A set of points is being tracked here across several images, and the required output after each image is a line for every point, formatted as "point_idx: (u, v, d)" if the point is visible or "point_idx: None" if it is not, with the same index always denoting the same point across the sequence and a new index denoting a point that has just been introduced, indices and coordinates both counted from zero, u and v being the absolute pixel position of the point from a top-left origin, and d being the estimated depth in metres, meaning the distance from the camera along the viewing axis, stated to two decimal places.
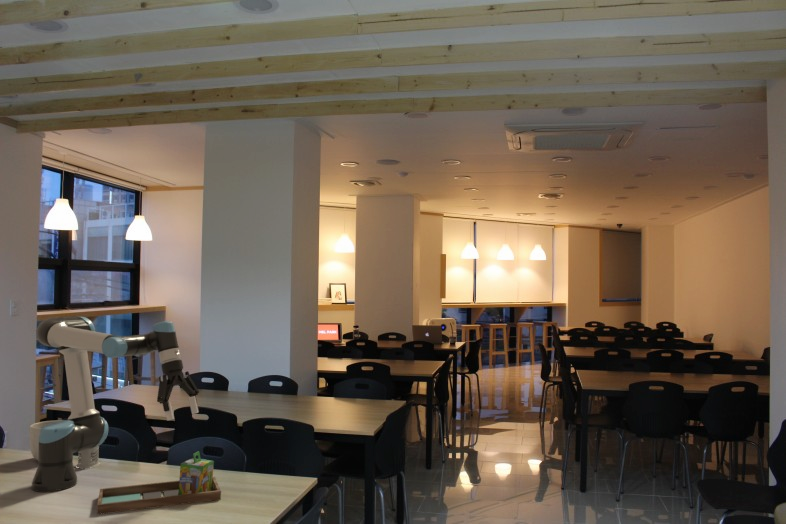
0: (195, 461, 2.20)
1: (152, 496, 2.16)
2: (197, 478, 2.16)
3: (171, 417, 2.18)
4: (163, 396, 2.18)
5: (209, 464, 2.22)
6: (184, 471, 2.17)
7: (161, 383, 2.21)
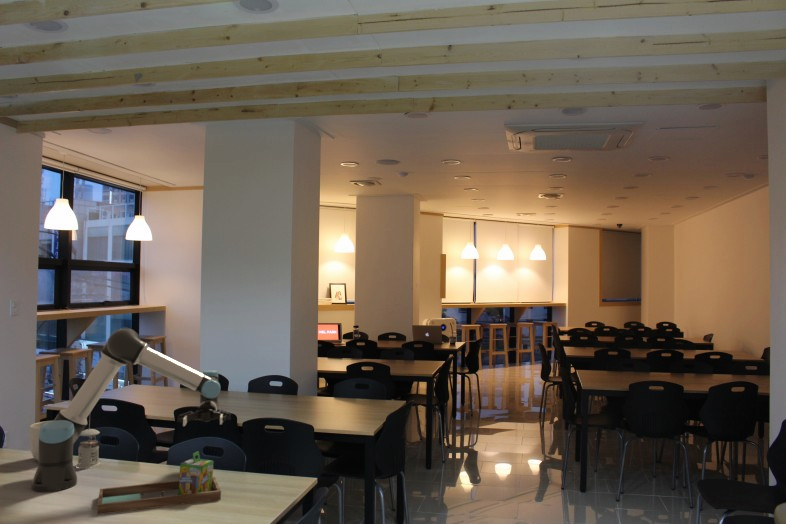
0: (195, 461, 2.20)
1: (152, 496, 2.16)
2: (197, 478, 2.16)
3: (221, 422, 2.34)
4: None
5: (209, 464, 2.22)
6: (184, 471, 2.18)
7: None
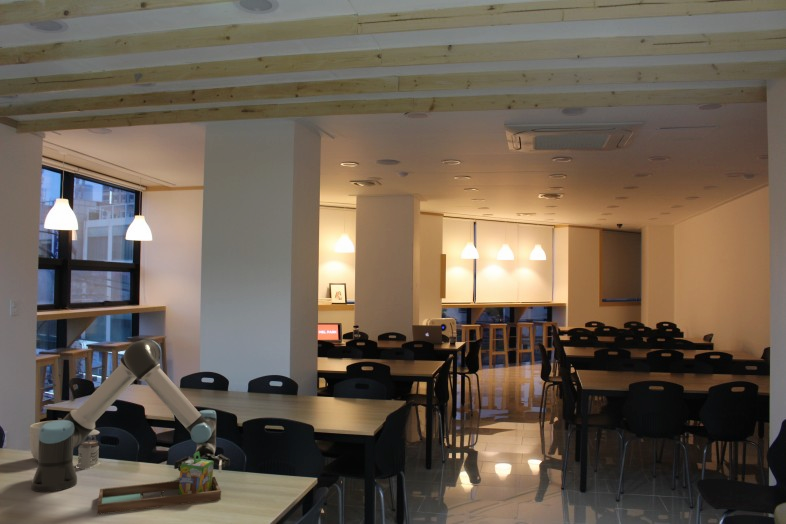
0: (195, 461, 2.20)
1: (152, 496, 2.16)
2: (198, 479, 2.16)
3: None
4: None
5: (210, 465, 2.21)
6: (185, 471, 2.17)
7: None
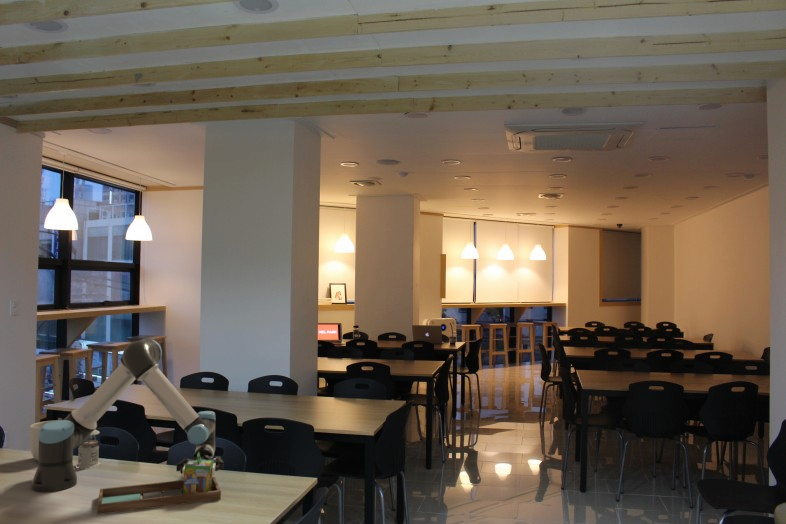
0: (199, 462, 2.19)
1: (152, 496, 2.16)
2: (204, 479, 2.16)
3: (214, 473, 2.19)
4: None
5: (212, 464, 2.22)
6: (190, 473, 2.16)
7: None
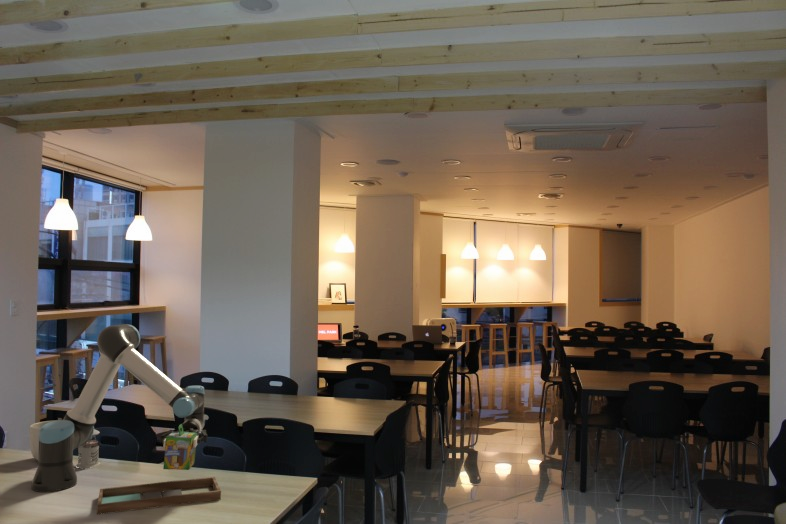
0: (180, 433, 2.16)
1: (152, 496, 2.16)
2: (185, 450, 2.13)
3: (195, 445, 2.16)
4: None
5: (194, 436, 2.19)
6: (170, 444, 2.13)
7: None
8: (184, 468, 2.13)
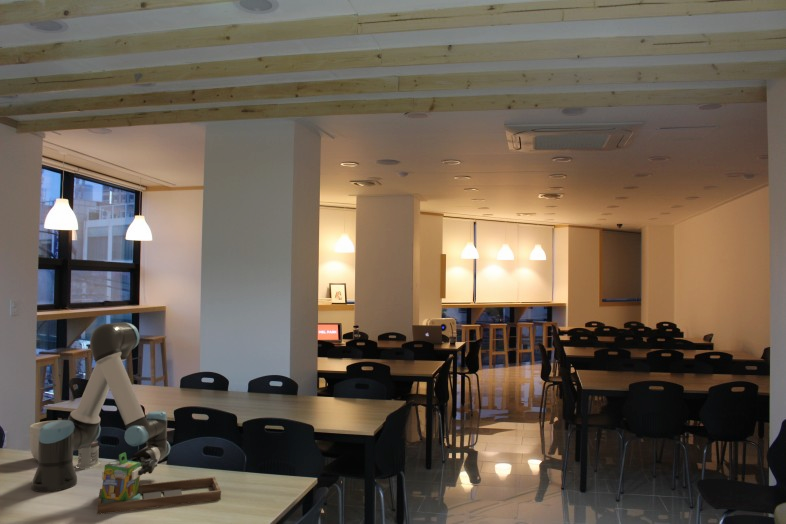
0: (121, 462, 2.09)
1: (152, 496, 2.16)
2: (122, 481, 2.06)
3: (134, 478, 2.08)
4: None
5: (136, 466, 2.11)
6: (109, 473, 2.06)
7: (154, 464, 2.21)
8: (120, 499, 2.05)
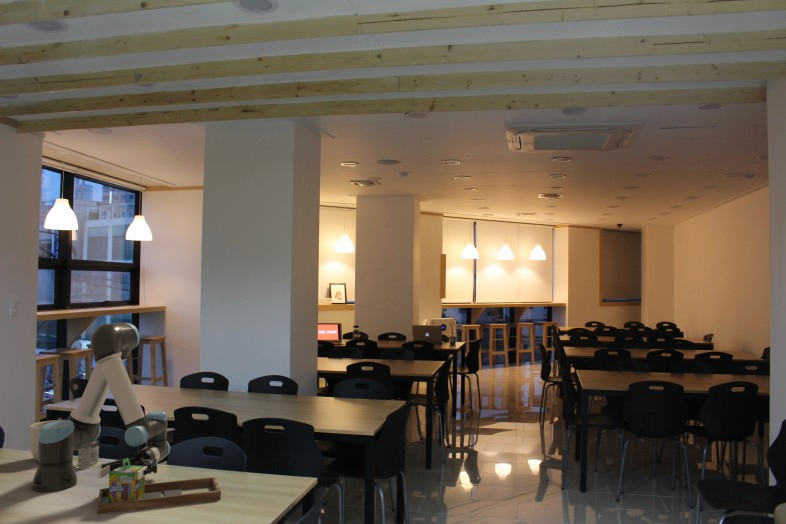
0: (125, 468, 2.09)
1: (152, 496, 2.16)
2: (129, 486, 2.06)
3: (139, 477, 2.09)
4: None
5: None
6: (114, 480, 2.07)
7: None
8: None
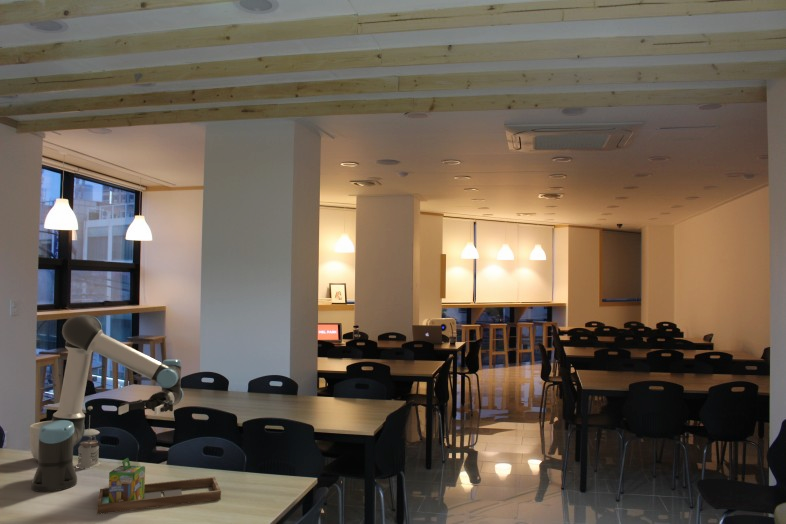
0: (125, 468, 2.09)
1: (152, 496, 2.16)
2: (129, 486, 2.06)
3: (157, 413, 2.23)
4: None
5: (141, 470, 2.12)
6: (114, 480, 2.07)
7: None
8: None
